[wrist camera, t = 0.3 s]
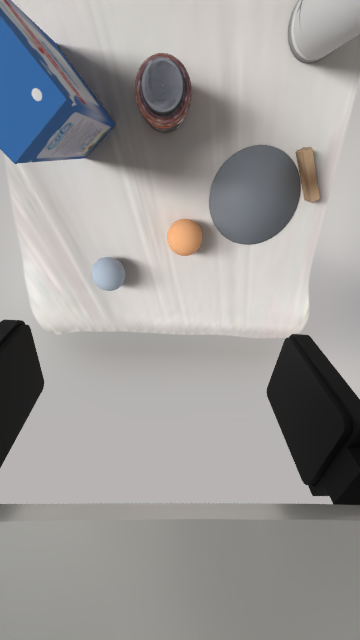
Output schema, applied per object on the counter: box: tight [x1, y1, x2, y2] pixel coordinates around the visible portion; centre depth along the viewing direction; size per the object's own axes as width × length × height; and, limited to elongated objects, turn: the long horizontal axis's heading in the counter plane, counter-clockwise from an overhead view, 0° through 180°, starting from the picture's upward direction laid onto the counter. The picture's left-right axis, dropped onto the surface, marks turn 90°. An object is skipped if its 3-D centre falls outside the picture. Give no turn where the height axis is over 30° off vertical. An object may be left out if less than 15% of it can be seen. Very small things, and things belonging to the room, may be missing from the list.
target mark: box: [209, 145, 300, 244], centre depth 40 cm, size 14×14×1 cm
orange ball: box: [167, 219, 203, 256], centre depth 41 cm, size 6×6×6 cm
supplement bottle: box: [135, 53, 191, 133], centre depth 29 cm, size 6×6×11 cm
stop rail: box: [296, 147, 320, 202], centre depth 38 cm, size 7×1×2 cm, turn 25°
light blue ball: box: [91, 257, 125, 291], centre depth 44 cm, size 6×6×6 cm
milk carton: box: [0, 0, 116, 164], centre depth 25 cm, size 10×6×20 cm, turn 38°
